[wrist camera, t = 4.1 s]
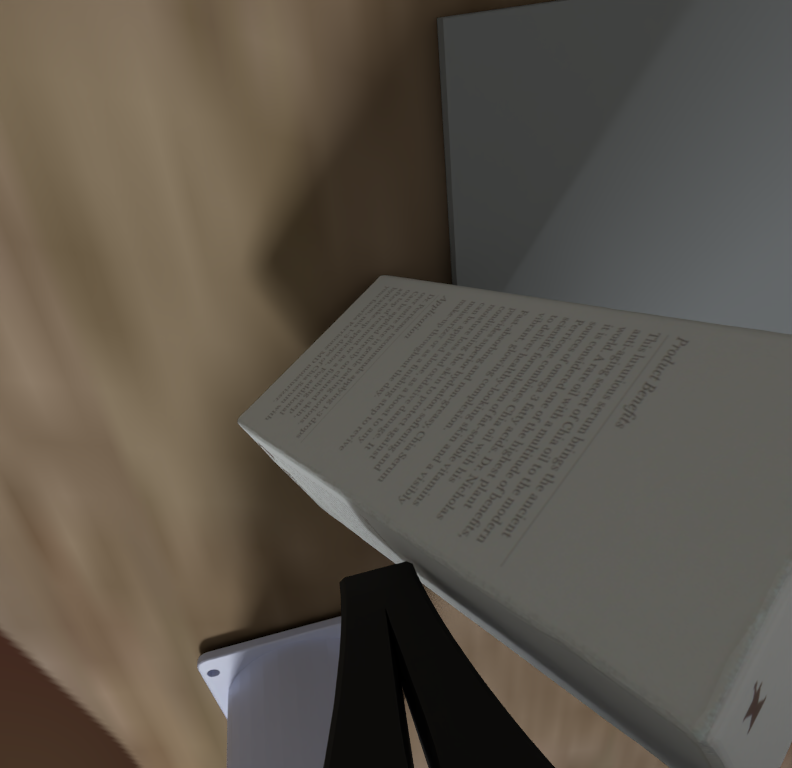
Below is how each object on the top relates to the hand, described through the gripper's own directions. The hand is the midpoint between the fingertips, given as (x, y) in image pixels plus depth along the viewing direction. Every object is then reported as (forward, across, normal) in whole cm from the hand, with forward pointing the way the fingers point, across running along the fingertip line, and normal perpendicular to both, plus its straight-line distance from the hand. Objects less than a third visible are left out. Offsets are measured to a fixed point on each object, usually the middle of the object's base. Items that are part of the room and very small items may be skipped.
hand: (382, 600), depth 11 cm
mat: (+8, -11, 0) cm, 14 cm away
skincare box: (+7, 0, 0) cm, 7 cm away
